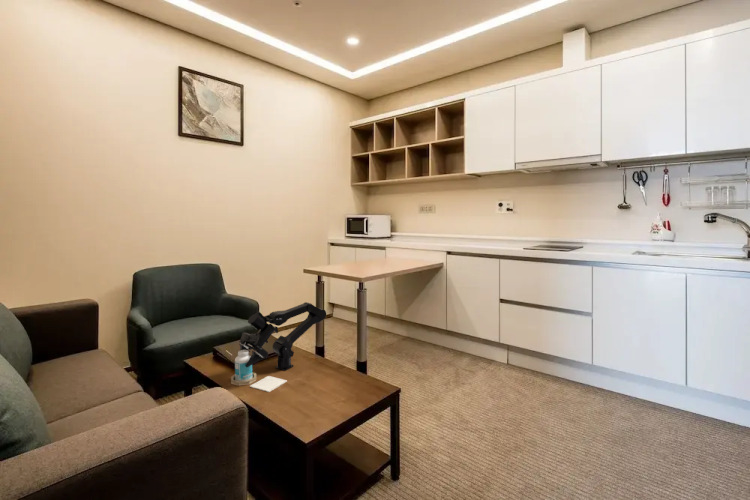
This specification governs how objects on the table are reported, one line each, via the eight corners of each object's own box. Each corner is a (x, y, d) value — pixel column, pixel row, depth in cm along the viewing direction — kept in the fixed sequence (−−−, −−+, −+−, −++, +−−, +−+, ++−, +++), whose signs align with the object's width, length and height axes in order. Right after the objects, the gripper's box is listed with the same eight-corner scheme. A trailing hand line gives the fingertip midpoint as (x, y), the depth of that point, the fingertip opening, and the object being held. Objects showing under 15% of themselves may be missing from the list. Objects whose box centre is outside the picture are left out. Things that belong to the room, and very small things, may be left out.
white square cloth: (268, 376, 175) (268, 375, 175) (287, 381, 170) (287, 380, 170) (249, 386, 164) (249, 385, 164) (269, 392, 159) (268, 391, 159)
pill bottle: (255, 377, 174) (254, 349, 173) (248, 383, 167) (247, 354, 166) (239, 376, 175) (239, 348, 174) (232, 383, 168) (231, 353, 167)
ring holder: (244, 373, 178) (244, 370, 178) (261, 377, 174) (261, 374, 173) (225, 382, 168) (225, 378, 168) (243, 387, 164) (243, 383, 164)
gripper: (242, 321, 179) (220, 349, 172) (261, 330, 165) (238, 360, 159) (258, 334, 185) (236, 361, 178) (277, 343, 172) (255, 373, 165)
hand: (241, 363), depth 170 cm, fingers open, 9 cm apart
